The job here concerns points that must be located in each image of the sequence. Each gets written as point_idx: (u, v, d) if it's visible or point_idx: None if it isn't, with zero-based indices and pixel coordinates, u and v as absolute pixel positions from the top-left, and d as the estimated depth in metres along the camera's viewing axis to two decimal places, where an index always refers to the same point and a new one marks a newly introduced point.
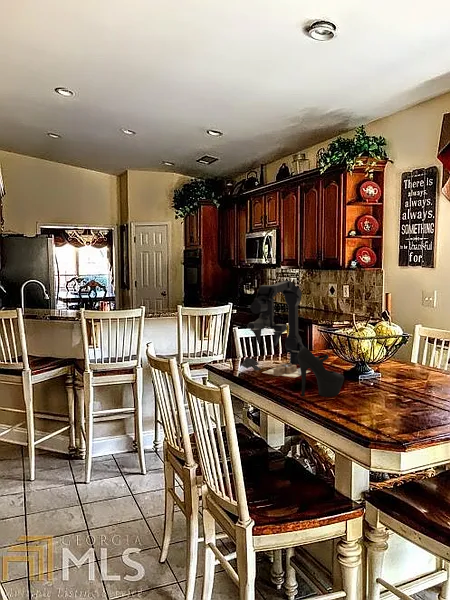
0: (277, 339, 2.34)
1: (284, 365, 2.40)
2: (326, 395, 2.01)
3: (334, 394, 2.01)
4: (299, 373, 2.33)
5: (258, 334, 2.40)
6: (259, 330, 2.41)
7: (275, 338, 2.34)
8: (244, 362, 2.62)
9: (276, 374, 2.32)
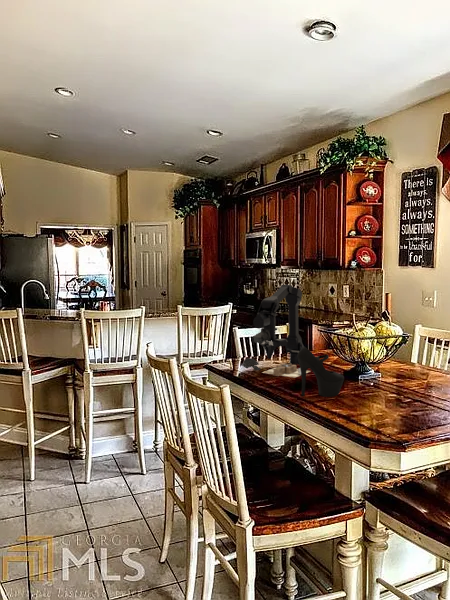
0: (271, 352, 2.37)
1: (284, 365, 2.40)
2: (326, 395, 2.01)
3: (334, 394, 2.01)
4: (299, 373, 2.33)
5: None
6: None
7: (268, 351, 2.37)
8: (244, 362, 2.61)
9: (276, 374, 2.32)
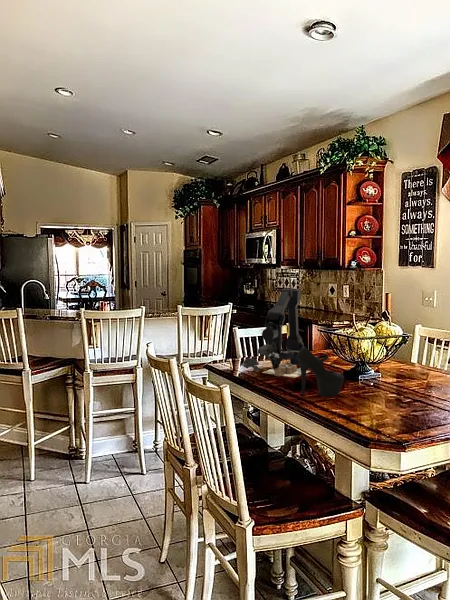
0: (277, 365, 2.34)
1: (284, 365, 2.40)
2: (326, 395, 2.01)
3: (334, 394, 2.01)
4: (299, 373, 2.33)
5: None
6: None
7: (274, 364, 2.33)
8: (245, 362, 2.61)
9: (277, 374, 2.31)
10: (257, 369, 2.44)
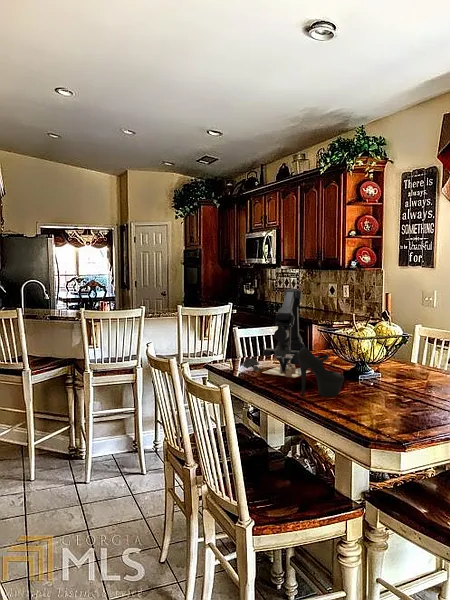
0: (286, 365, 2.31)
1: None
2: (326, 395, 2.01)
3: (334, 394, 2.01)
4: (299, 373, 2.33)
5: (283, 362, 2.32)
6: (283, 358, 2.33)
7: (284, 364, 2.30)
8: (245, 362, 2.61)
9: (289, 375, 2.29)
10: (257, 369, 2.44)
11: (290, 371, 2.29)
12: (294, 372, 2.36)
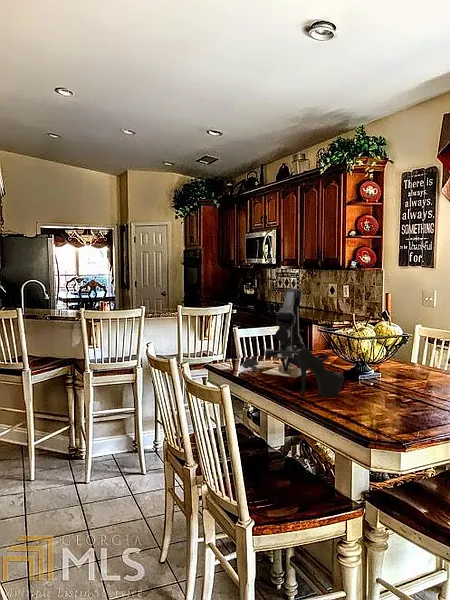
0: None
1: None
2: (326, 395, 2.01)
3: (334, 394, 2.01)
4: (299, 373, 2.33)
5: (284, 362, 2.31)
6: None
7: (287, 364, 2.30)
8: (244, 362, 2.61)
9: (295, 375, 2.30)
10: (255, 369, 2.44)
11: (296, 371, 2.30)
12: None
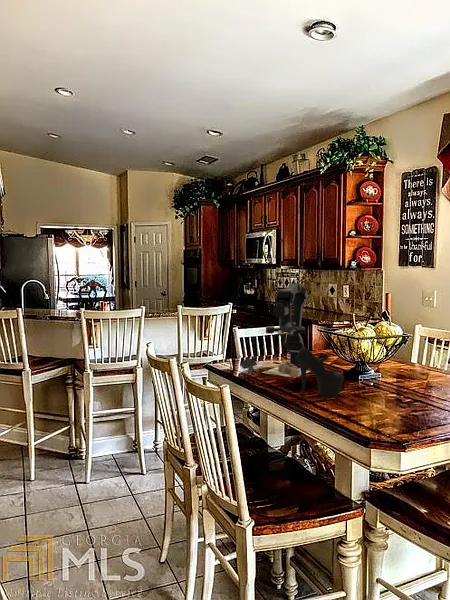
0: (287, 341, 2.44)
1: (284, 365, 2.40)
2: (326, 395, 2.01)
3: (334, 394, 2.01)
4: (299, 373, 2.33)
5: None
6: (283, 334, 2.45)
7: (287, 340, 2.43)
8: (243, 363, 2.60)
9: (295, 375, 2.30)
10: (251, 370, 2.43)
11: (296, 371, 2.30)
12: None
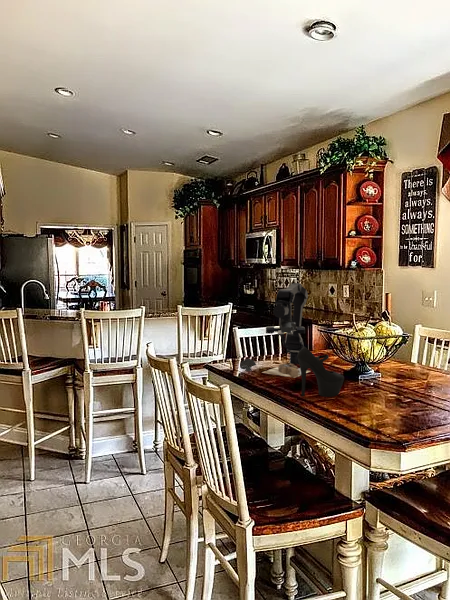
0: (287, 341, 2.44)
1: (284, 365, 2.40)
2: (326, 395, 2.01)
3: (334, 394, 2.01)
4: (299, 373, 2.33)
5: None
6: (283, 334, 2.45)
7: (287, 340, 2.43)
8: (242, 363, 2.60)
9: (295, 375, 2.30)
10: (248, 370, 2.43)
11: (296, 371, 2.30)
12: None
